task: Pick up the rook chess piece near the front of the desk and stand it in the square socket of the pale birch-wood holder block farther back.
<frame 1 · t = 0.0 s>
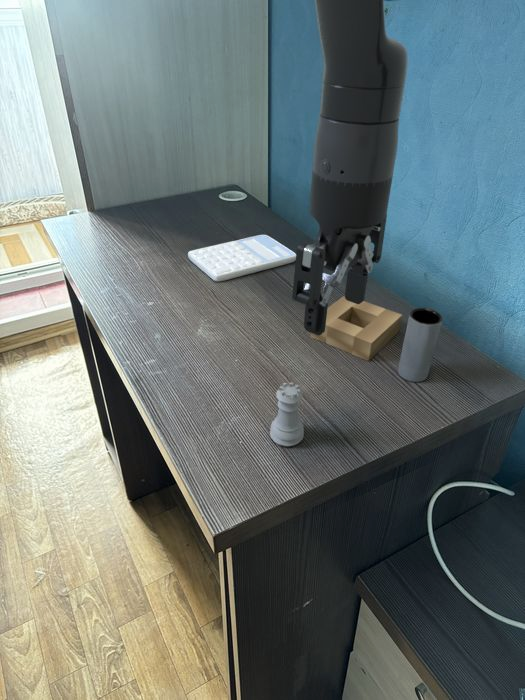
hand: (335, 315, 58), 18 cm above the table, tool pointing down, fingers open, 8 cm apart
holder: (355, 334, 88), on the table
rook chess piece: (286, 437, 68), on the table
planter: (412, 374, 79), on the table
calculator: (242, 260, 111), on the table
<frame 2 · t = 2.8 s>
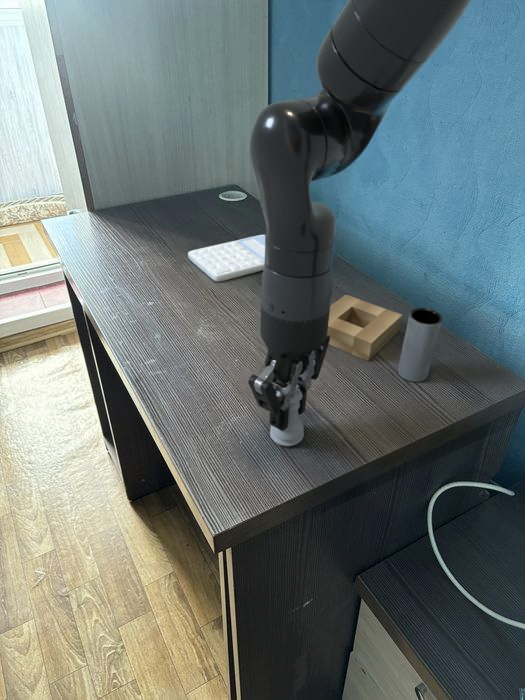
hand: (287, 418, 66), 3 cm above the table, tool pointing down, fingers closed on rook chess piece, 3 cm apart
rook chess piece: (286, 437, 68), on the table, touching gripper
everything else where it was.
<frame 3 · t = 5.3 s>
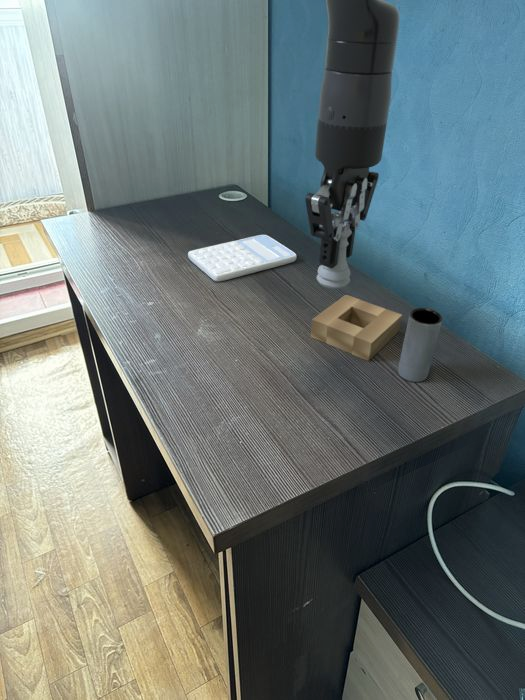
hand: (335, 259, 66), 19 cm above the table, tool pointing down, fingers closed on rook chess piece, 3 cm apart
rook chess piece: (332, 283, 68), point 16 cm above the table, touching gripper
everything else where it was.
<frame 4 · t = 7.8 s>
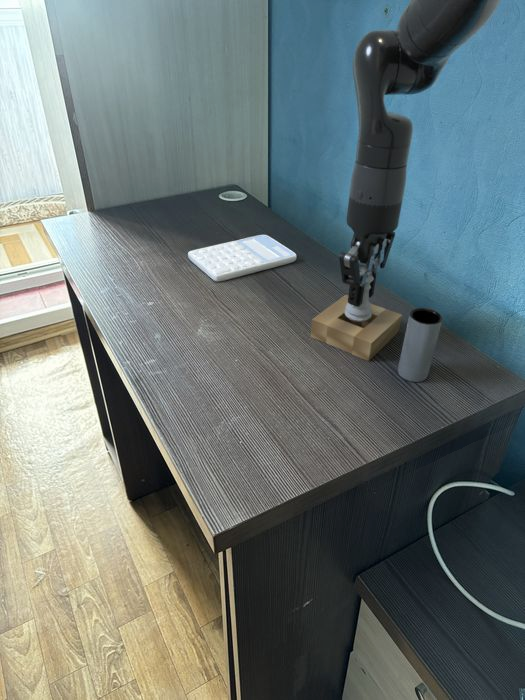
hand: (360, 299, 84), 7 cm above the table, tool pointing down, fingers closed on rook chess piece, 3 cm apart
rook chess piece: (357, 316, 86), point 4 cm above the table, touching gripper
everything else where it was.
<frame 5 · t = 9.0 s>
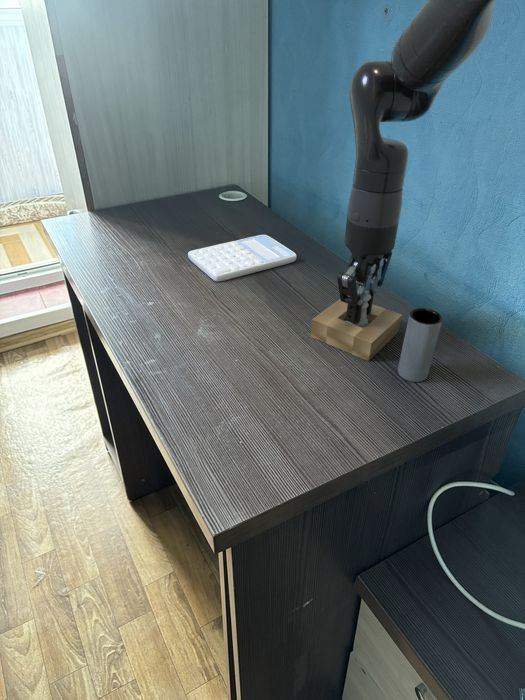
hand: (358, 316, 85), 4 cm above the table, tool pointing down, fingers closed on rook chess piece, 3 cm apart
rook chess piece: (355, 333, 87), resting in holder, touching gripper
everything else where it was.
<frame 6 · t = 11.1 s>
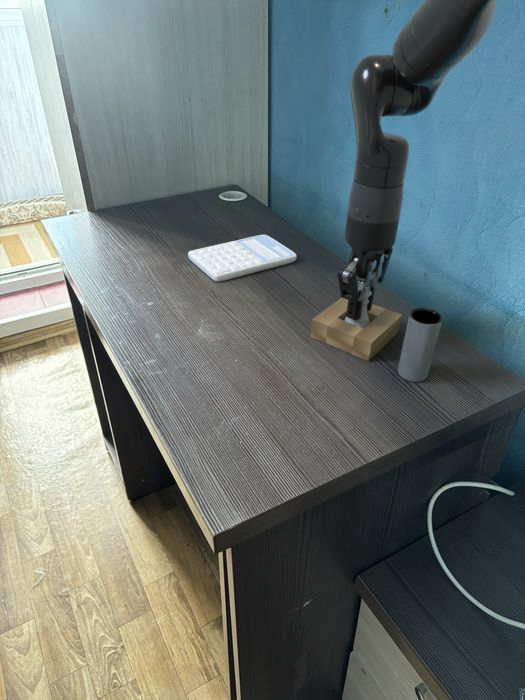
hand: (358, 313, 85), 4 cm above the table, tool pointing down, fingers closed on rook chess piece, 3 cm apart
rook chess piece: (356, 330, 87), point 1 cm above the table, touching gripper
everything else where it was.
when the fingers open (4 cm above the table, at t = 12.8 s): rook chess piece stays where it is, resting in holder.
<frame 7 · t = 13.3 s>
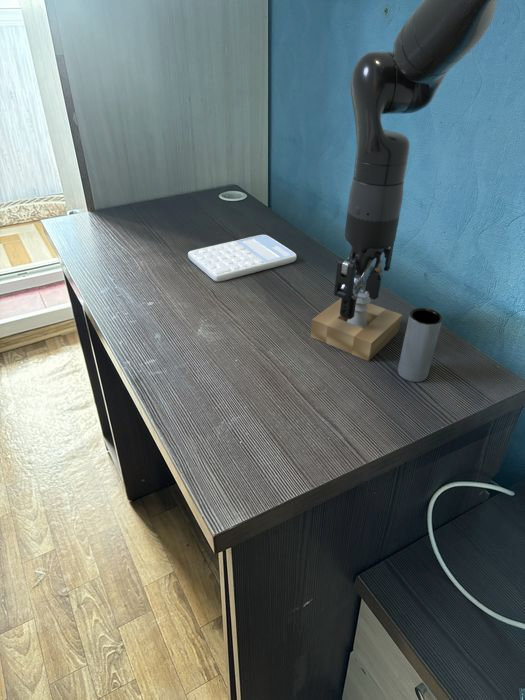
hand: (359, 306, 85), 5 cm above the table, tool pointing down, fingers open, 7 cm apart
rook chess piece: (355, 336, 88), resting in holder
everything else where it was.
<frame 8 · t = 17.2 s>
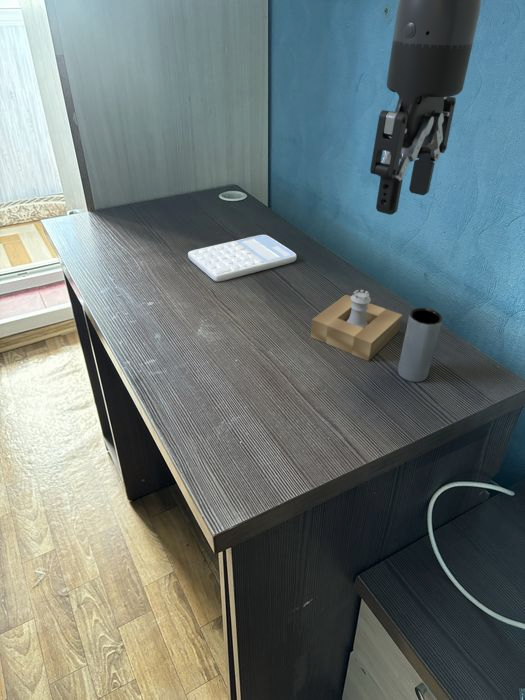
hand: (403, 202, 59), 28 cm above the table, tool pointing down, fingers open, 8 cm apart
nothing on the table moved.
at the end: rook chess piece 0.1 cm off-centre in the holder, point 0.0 cm above the holder's base; rook chess piece tilted 0°; the gripper is holding nothing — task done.
